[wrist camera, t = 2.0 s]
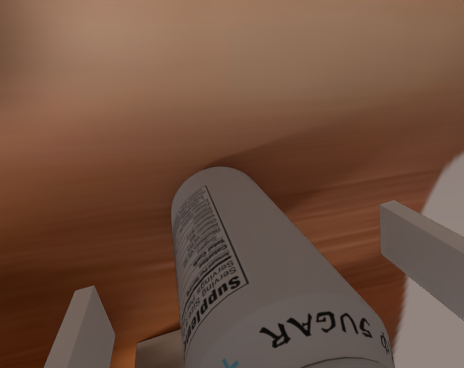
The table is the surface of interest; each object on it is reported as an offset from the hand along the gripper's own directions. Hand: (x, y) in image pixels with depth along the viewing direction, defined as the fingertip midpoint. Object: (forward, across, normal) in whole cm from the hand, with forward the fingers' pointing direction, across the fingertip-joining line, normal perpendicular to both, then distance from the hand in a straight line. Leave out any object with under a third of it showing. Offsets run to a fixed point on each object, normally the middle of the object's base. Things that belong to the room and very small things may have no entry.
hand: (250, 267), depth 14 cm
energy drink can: (+8, 0, 0) cm, 8 cm away
